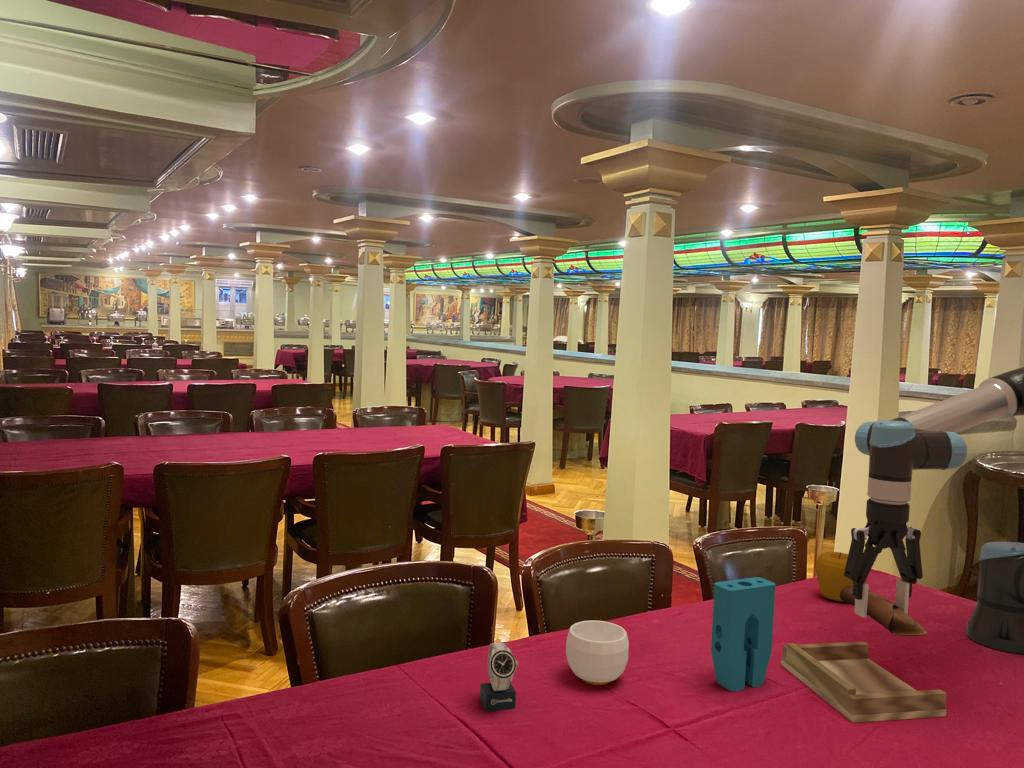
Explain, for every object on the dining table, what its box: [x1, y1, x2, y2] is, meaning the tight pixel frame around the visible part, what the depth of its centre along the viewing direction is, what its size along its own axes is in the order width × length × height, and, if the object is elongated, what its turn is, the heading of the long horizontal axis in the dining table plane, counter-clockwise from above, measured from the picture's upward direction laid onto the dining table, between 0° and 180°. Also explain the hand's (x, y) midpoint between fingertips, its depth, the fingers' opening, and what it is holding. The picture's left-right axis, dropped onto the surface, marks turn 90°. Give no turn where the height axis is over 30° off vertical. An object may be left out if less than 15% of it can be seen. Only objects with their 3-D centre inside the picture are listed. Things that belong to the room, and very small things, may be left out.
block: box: [710, 576, 776, 692], centre depth 148 cm, size 12×5×20 cm, turn 115°
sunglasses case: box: [840, 585, 929, 637], centre depth 147 cm, size 18×7×7 cm
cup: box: [565, 619, 630, 686], centre depth 148 cm, size 12×12×10 cm
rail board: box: [780, 641, 948, 723], centre depth 147 cm, size 19×24×5 cm
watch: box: [479, 642, 519, 712], centre depth 136 cm, size 6×8×11 cm
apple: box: [815, 551, 853, 603], centre depth 199 cm, size 11×11×13 cm
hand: (880, 614), depth 147 cm, fingers closed on sunglasses case, 8 cm apart
